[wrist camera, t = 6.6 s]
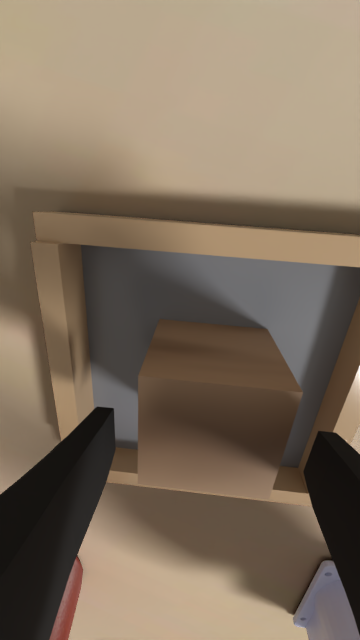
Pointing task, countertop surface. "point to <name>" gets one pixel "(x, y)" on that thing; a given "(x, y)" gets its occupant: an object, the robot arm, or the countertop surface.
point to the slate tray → (197, 317)
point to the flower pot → (68, 604)
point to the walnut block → (214, 409)
